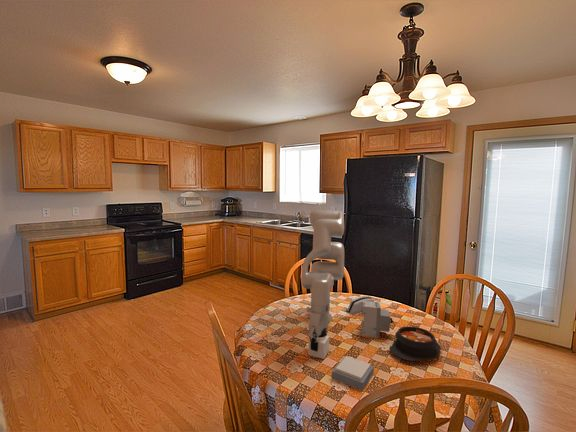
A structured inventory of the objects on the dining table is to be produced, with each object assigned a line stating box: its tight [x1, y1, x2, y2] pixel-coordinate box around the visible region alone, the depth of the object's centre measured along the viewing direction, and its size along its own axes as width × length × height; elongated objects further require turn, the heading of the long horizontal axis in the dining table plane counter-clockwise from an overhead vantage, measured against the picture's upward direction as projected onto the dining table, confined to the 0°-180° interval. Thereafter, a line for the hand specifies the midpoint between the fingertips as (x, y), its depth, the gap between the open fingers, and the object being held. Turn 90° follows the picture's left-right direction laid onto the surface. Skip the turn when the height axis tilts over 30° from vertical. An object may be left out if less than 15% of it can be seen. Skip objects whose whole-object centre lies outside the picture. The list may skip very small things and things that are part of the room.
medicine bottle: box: [307, 328, 330, 360], centre depth 129 cm, size 7×7×12 cm
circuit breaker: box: [360, 301, 394, 339], centre depth 147 cm, size 8×14×15 cm, turn 78°
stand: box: [331, 355, 375, 391], centre depth 114 cm, size 12×12×4 cm
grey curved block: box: [345, 295, 375, 315], centre depth 175 cm, size 17×5×10 cm, turn 118°
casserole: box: [388, 325, 442, 362], centre depth 132 cm, size 25×19×8 cm
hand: (318, 345), depth 129 cm, fingers closed on medicine bottle, 7 cm apart
